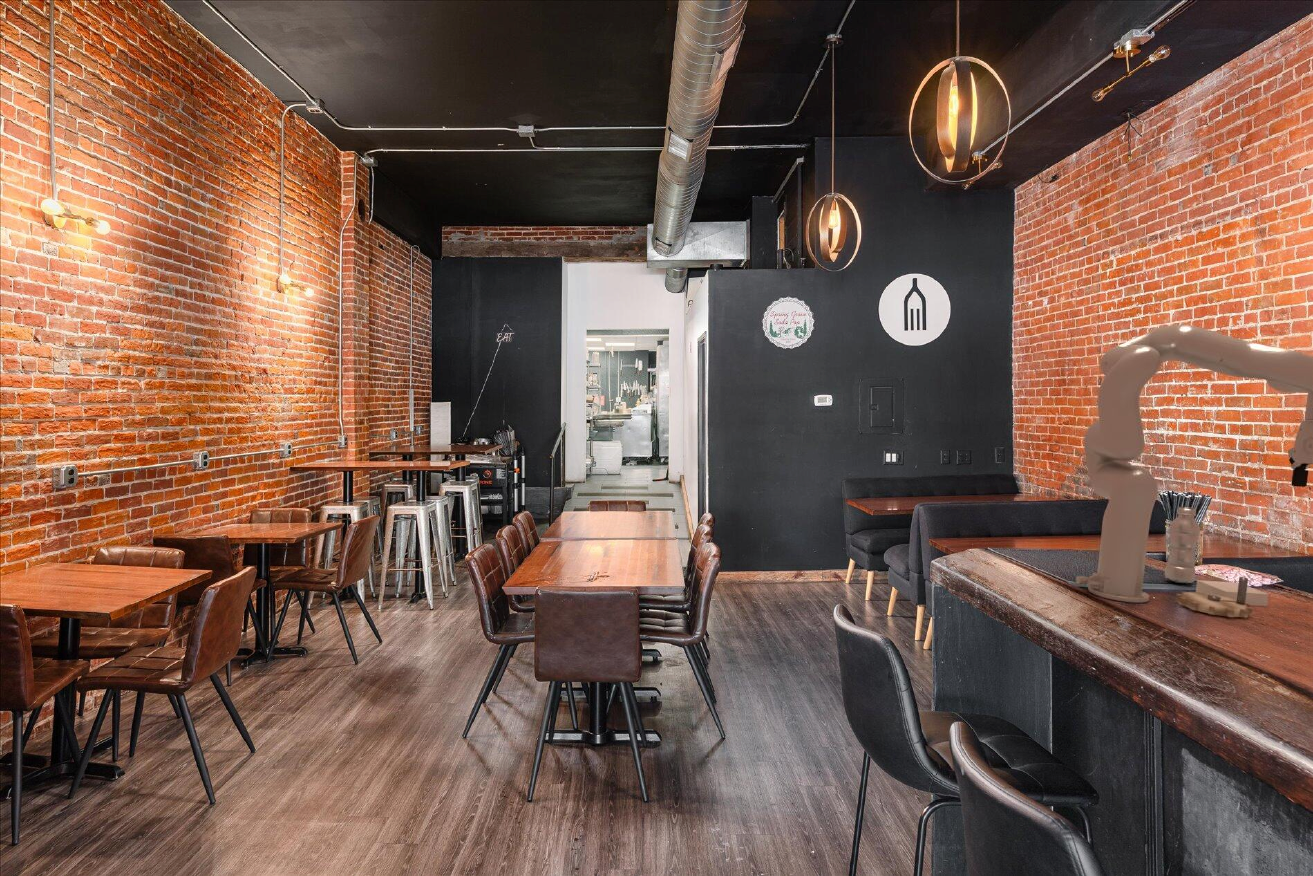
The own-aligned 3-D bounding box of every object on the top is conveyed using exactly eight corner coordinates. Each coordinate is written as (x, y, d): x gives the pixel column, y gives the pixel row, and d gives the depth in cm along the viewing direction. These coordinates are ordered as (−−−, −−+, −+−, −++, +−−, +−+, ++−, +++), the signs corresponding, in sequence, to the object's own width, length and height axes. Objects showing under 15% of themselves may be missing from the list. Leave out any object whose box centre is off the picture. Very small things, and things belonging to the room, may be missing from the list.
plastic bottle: (1199, 588, 194) (1208, 511, 193) (1170, 585, 196) (1178, 509, 194) (1187, 581, 201) (1195, 507, 199) (1158, 578, 202) (1167, 504, 200)
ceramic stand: (1224, 604, 180) (1226, 591, 180) (1195, 591, 190) (1197, 580, 190) (1267, 606, 180) (1268, 594, 180) (1236, 594, 190) (1237, 582, 190)
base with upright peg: (1203, 616, 167) (1207, 581, 167) (1161, 597, 182) (1165, 564, 181) (1268, 620, 167) (1272, 585, 166) (1221, 601, 181) (1225, 568, 181)
